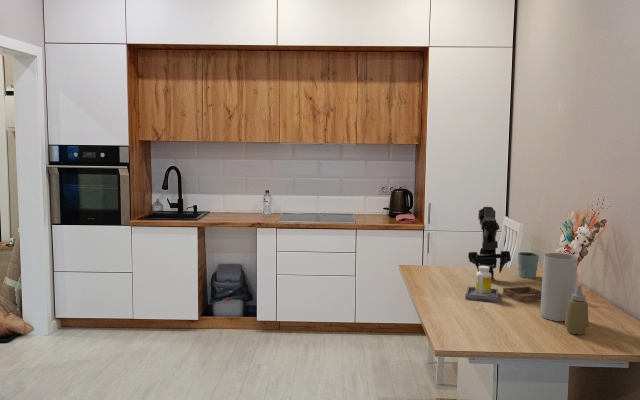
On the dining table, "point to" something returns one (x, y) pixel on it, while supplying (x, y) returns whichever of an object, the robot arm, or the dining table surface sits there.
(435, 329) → the dining table surface
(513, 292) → the tray
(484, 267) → the supplement bottle
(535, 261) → the teal tapered cup
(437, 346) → the dining table surface
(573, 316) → the squeeze bottle
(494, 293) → the slate tray
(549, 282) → the cylinder vase
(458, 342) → the dining table surface
